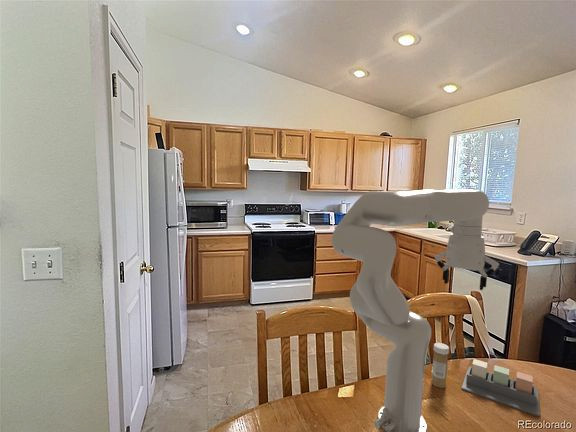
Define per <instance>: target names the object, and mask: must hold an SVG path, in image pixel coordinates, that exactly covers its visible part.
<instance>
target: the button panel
mask: <svg viewBox="0 0 576 432" xmlns="http://www.w3.org/2000/svg"><path fill="white" fill-rule="evenodd" d="M493 373H494V372H490V371H487V375H486V380H485V379H482V378H479V377H476V376H473V375H471V374H472V366H470V365H469V366H468V368H467V371H466V374H465V377H464V379H463V381H462V382H463V383H462V385H461V390H462V391H465V392H468V393H470V394H473V395H477V396H480V397H481V398H484V399H488V400H491V401H494V402H497V403H498V404H501V405H505V406H508V407H511V408H513V409H516V410H518V411H522V412H525V413H528V414H530V415H533V416H536V417H538V418H540V416H541V415H540V399H539V390H538V389H537V386H535V385H533V386H532V394H528V393H525V392H522V391H519V390H516V389H515V386H516V379H512V378H508V387H507V386H504V385H501V384H498V383H495V382H493Z"/></svg>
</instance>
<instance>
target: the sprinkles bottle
mask: <svg viewBox="0 0 576 432" xmlns="http://www.w3.org/2000/svg"><path fill="white" fill-rule="evenodd" d="M449 353H450V348H449V346H448V345H447V344H445V343H442V342H436V343H434V344H433V356H432V357H433V359H432V371H431V372H432V373H431V374H432V376H431V384H432V385H433V386H434V387H436V388H440V389H444V388H446V387H447V378H448V377H447V376H448V360H449Z"/></svg>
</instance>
